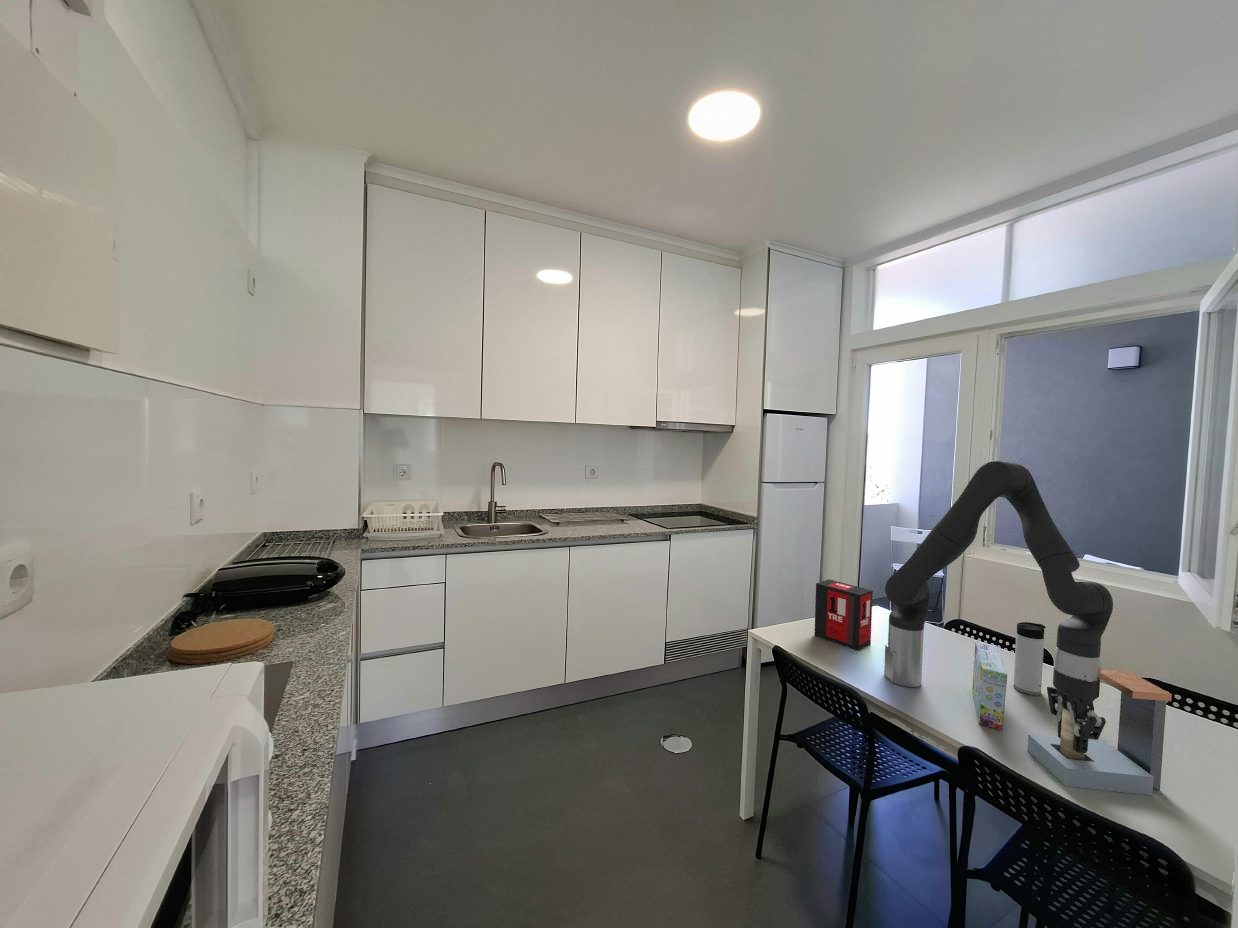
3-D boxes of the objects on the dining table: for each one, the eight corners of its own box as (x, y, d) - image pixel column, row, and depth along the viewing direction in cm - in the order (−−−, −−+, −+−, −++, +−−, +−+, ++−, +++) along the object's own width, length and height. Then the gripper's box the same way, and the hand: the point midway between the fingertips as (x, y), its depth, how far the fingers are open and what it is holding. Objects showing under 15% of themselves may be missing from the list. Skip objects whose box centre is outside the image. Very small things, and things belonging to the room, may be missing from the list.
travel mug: (1047, 696, 138) (1051, 629, 137) (1021, 694, 140) (1025, 627, 139) (1033, 685, 144) (1037, 621, 143) (1008, 683, 146) (1012, 619, 145)
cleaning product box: (870, 644, 173) (872, 590, 172) (858, 651, 167) (860, 595, 166) (827, 629, 186) (828, 579, 185) (814, 635, 180) (816, 583, 179)
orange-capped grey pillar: (1126, 789, 102) (1132, 691, 101) (1088, 758, 112) (1093, 668, 110) (1164, 793, 101) (1171, 694, 99) (1122, 761, 110) (1128, 671, 109)
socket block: (1065, 785, 103) (1066, 767, 102) (1027, 749, 114) (1028, 733, 114) (1152, 795, 100) (1153, 776, 100) (1104, 757, 112) (1105, 740, 112)
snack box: (1005, 732, 122) (1008, 674, 121) (978, 724, 125) (980, 668, 124) (994, 694, 140) (997, 643, 139) (970, 689, 143) (973, 639, 142)
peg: (1068, 768, 106) (1071, 715, 105) (1054, 756, 110) (1057, 705, 109) (1088, 770, 105) (1092, 717, 105) (1074, 758, 109) (1077, 707, 109)
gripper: (1035, 655, 114) (1031, 724, 115) (1082, 685, 100) (1077, 764, 101) (1070, 657, 113) (1066, 728, 114) (1124, 688, 99) (1118, 768, 100)
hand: (1071, 744), depth 107 cm, fingers closed on peg, 4 cm apart
